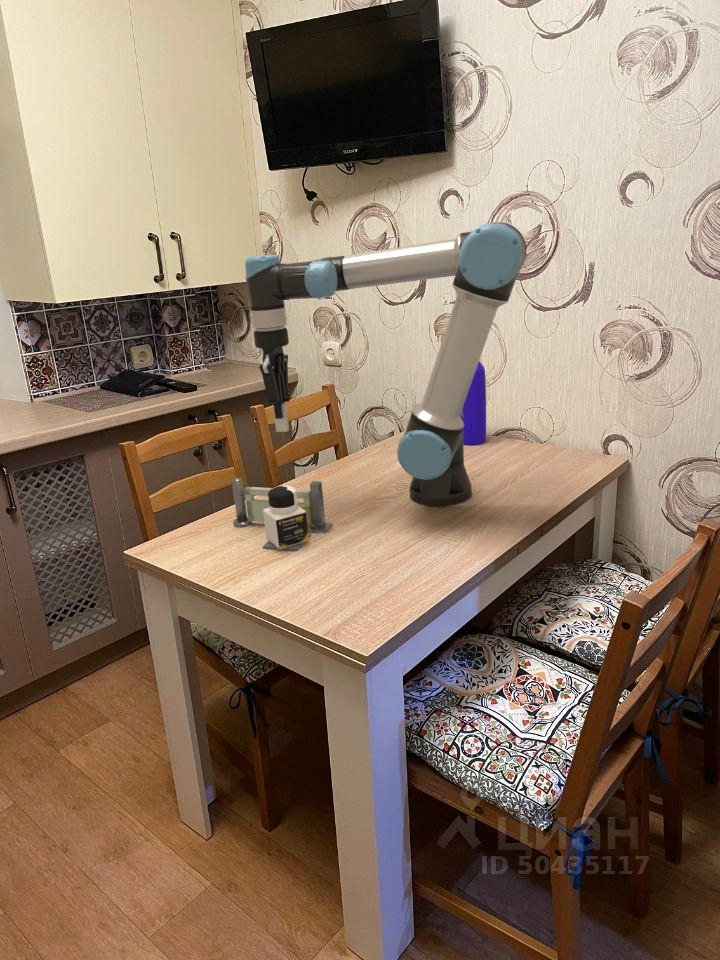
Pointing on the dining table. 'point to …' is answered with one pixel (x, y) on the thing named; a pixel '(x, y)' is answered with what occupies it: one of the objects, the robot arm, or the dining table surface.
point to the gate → (257, 505)
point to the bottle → (475, 410)
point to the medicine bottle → (285, 518)
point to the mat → (291, 548)
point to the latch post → (316, 510)
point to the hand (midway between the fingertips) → (282, 430)
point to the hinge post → (240, 503)
